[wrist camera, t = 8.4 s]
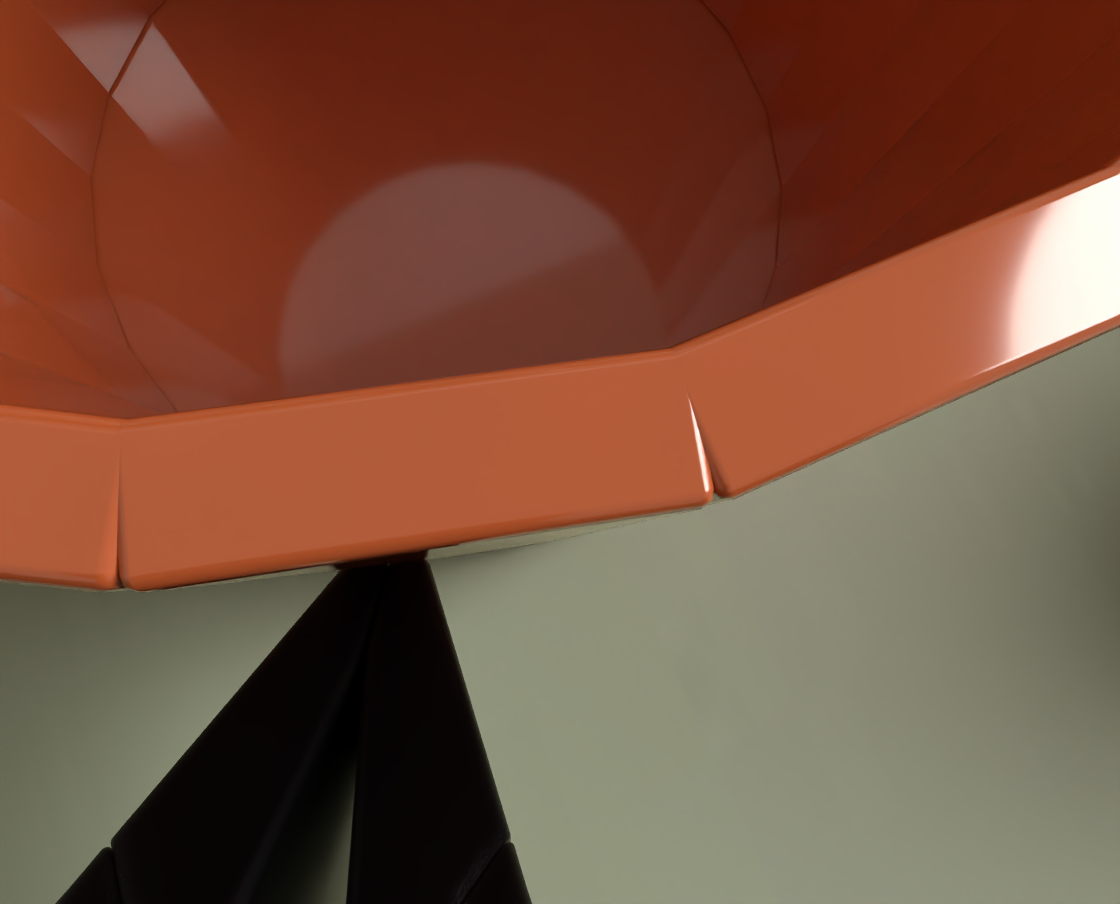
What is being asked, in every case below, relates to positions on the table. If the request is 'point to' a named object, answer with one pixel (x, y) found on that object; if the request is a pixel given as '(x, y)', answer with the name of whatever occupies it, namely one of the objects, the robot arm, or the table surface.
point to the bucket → (512, 261)
